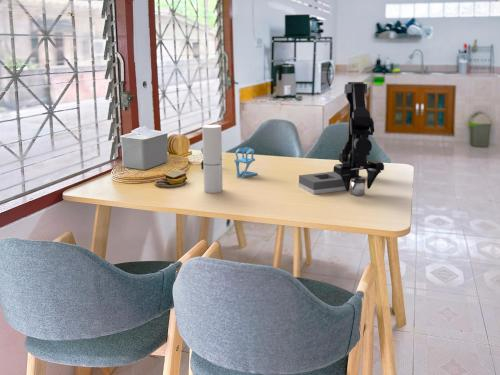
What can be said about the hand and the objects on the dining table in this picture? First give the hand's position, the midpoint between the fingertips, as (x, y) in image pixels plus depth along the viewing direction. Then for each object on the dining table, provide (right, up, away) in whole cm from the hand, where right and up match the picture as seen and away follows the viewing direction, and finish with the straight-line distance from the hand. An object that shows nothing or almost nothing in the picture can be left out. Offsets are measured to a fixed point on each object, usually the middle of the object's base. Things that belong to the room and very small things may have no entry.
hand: (357, 189), depth 205 cm
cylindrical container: (-55, 0, +7) cm, 55 cm away
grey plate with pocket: (-11, +1, +9) cm, 15 cm away
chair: (-43, +6, +30) cm, 52 cm away
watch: (-59, +10, +44) cm, 74 cm away
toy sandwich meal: (-73, +2, +18) cm, 75 cm away
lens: (0, -2, 0) cm, 2 cm away
